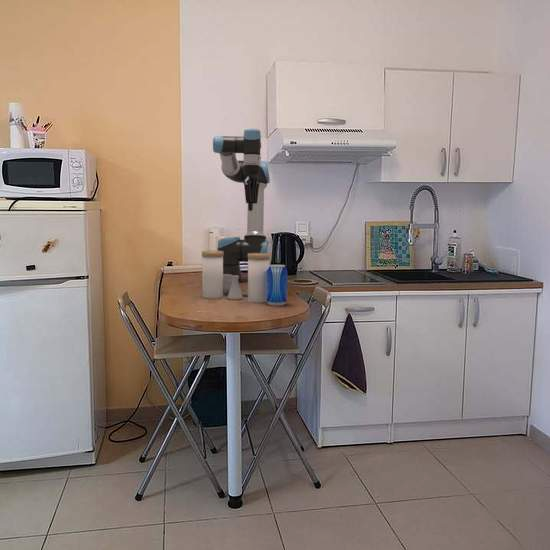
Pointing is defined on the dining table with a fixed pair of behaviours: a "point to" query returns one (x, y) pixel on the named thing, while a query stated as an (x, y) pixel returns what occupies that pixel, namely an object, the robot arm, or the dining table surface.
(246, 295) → the kettle cord
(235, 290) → the flask
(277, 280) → the beer can
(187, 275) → the dining table surface
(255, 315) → the dining table surface
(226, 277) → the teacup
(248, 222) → the robot arm
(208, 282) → the canister left
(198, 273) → the dining table surface
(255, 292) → the canister right
